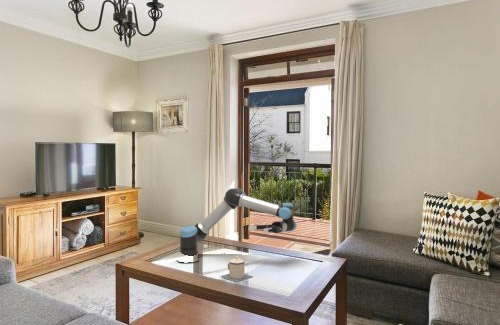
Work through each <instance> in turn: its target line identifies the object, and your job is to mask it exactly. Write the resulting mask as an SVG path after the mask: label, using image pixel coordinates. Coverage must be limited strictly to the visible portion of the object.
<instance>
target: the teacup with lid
mask: <svg viewBox="0 0 500 325" xmlns="http://www.w3.org/2000/svg"><path fill="white" fill-rule="evenodd" d="M245 263H246V261H245V260H244V259H242V258H240V257H239V256H238V255H236V256H235V257H234V258H232V259H230V260H229V261H228V263H227V270H228V272H229V273H228V274H229V277H230V278H232V279H242V278H244V274H245Z"/></svg>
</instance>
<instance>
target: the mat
mask: <svg viewBox="0 0 500 325" xmlns="http://www.w3.org/2000/svg"><path fill="white" fill-rule="evenodd" d="M220 276H221V277H222V278H221V279H223V278H224V279H223V280H226V281H230V282H232V281H233V283H238V282H241V281H245V280H247V279H252V278H254V276H253V275H249V274H245V273H244V278H242V279H232V278H230V277H229V273H227V274H223V275H220Z"/></svg>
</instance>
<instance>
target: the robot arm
mask: <svg viewBox="0 0 500 325" xmlns="http://www.w3.org/2000/svg"><path fill="white" fill-rule="evenodd" d="M241 206H242V207H245V208H248V209H250V210H254V211H258V212H262V213H265V214H268V215H271V216H273V217H274V216H275V217H277V218H280V219H282V220H279V221H278V220H277V221H274V222H272V223H271V224H254V225H250V226H248V231H249V232H251V231H258V230H260V231H261V230H263V234H269V233H274V234H278V233H279V234H282V233H286V232H287V233H288V232H292V231H295V230H296V229H297V223H296V221H295V220H294V204H293V203H291V202H290V203H289V202H287V203H286V202H284V203H282V205H279V204H276V203H273V202H270V201H265V200H264V199H263V200H262V199H260V198H255V197H251V196H249V195H246V192H245V191H244V190H243V188H242V189H241V188H239V187H236V188H230V189H228V190H227V191H226V192H225V193H224V197H223V201H222V202H221V203H220V204H218V206H216V207H215V209H213V210H212V211H211V212H210V213H209V214H207V216H206V217H205V218H204V219H203V220H202V221H198V222H197V223H196V224H195V225H194V226H193V225H190V226H183V227H181V229H180V233H179V238H180V240H179V252H181V253H182V254H184V255H188V256H194V255H197V253H198V254H199V252H198V249H197V248H198V243H201V242H203V241H204V240H205V239H206V238H207V236H208V235H209V234H210V230H211V229H212V228H213V227H215V226H216V224H218V223H219V222H220V221H221V220H222V219H223V218H224V217H225V216H226V215H227V214H229V213H230V211H232V210H235V209H236V208H238V207H241Z"/></svg>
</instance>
